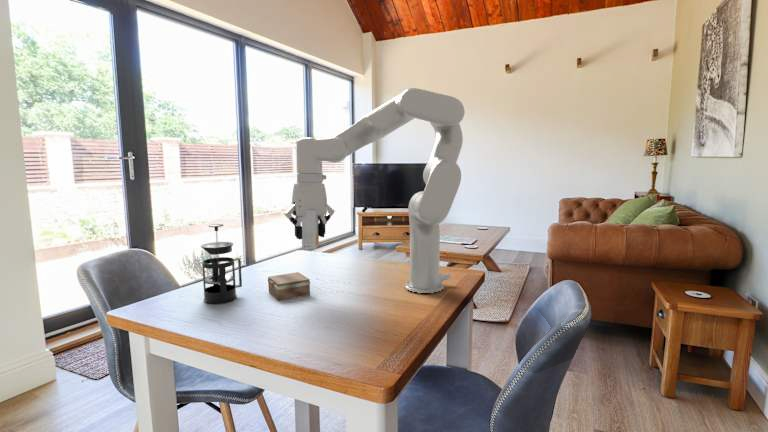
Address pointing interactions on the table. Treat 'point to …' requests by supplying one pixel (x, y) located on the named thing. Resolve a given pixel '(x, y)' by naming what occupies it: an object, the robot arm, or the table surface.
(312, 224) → the skincare box
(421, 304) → the table surface
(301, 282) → the gift box
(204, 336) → the table surface
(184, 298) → the table surface
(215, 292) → the french press
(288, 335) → the table surface
